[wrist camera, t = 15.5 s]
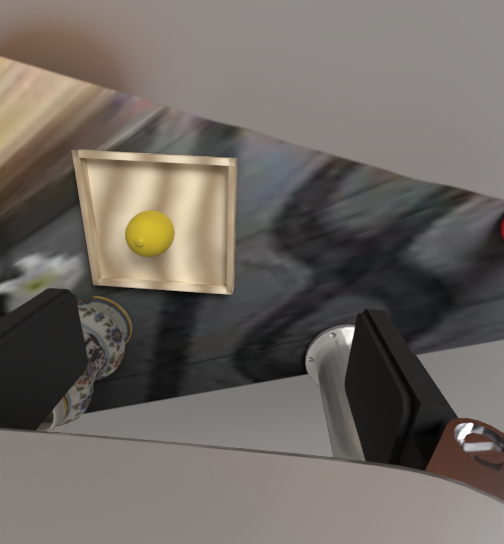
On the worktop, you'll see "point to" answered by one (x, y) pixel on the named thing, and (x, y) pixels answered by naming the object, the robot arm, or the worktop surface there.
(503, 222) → the beer can
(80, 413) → the apothecary jar
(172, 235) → the lemon
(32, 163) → the worktop surface
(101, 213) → the birch tray
